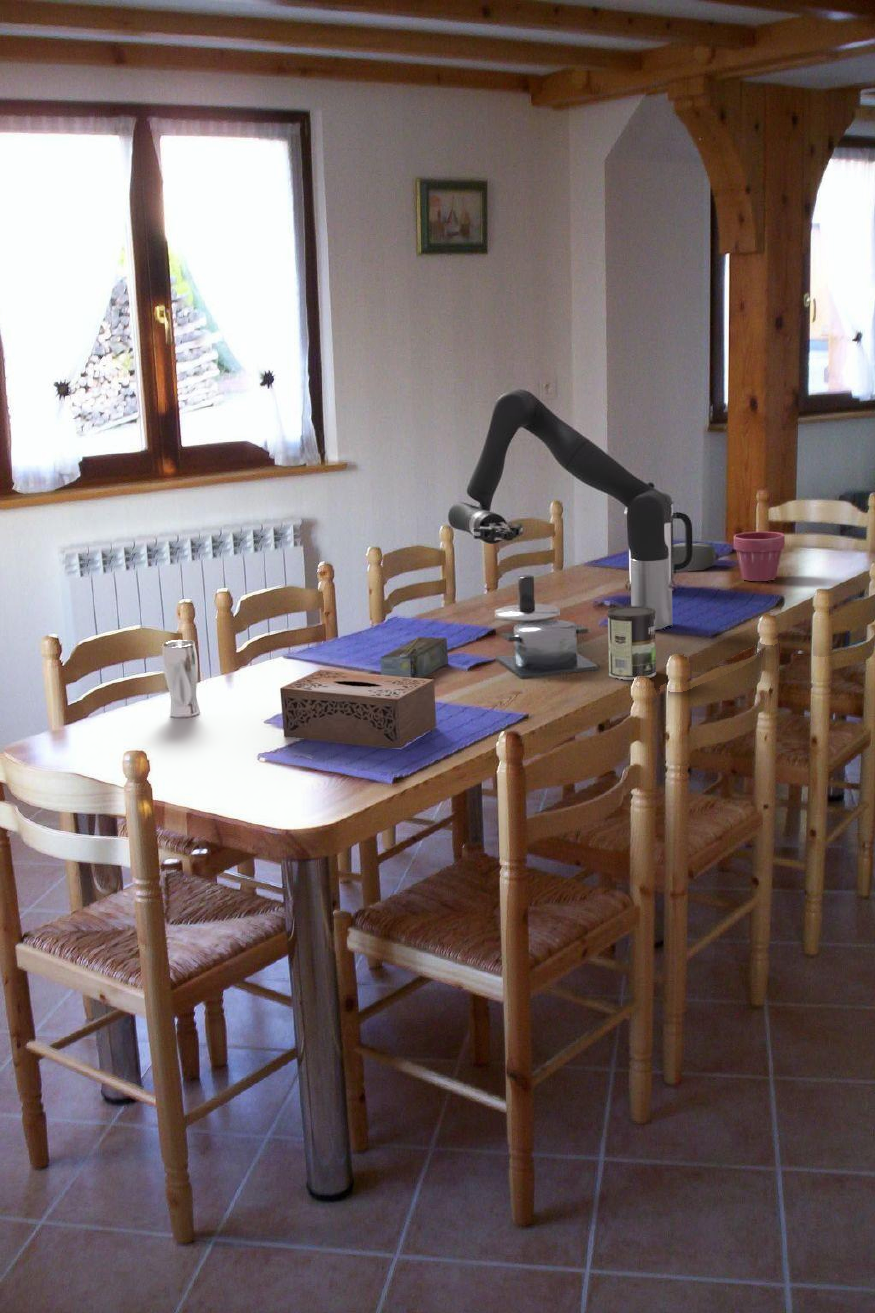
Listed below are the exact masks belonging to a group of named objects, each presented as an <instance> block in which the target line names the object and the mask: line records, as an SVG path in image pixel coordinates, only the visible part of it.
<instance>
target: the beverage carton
mask: <svg viewBox="0 0 875 1313" xmlns="http://www.w3.org/2000/svg"><path fill="white" fill-rule="evenodd" d="M448 656H449V655H448V644H447V638H446V637H432V636H429V637H424V636H418V637H416V638H413V639H411V641H408V642H407V643H405V644H403V645H401V646H400V647H398V648H396V649H394V650H392V651H390V652H389V653H387V654H384V655H382V656H380V670H381V674H380V675H387V676H399V677H410V678H422V679H424V678H425V677H426V676H428V675H430V674H431V673H433V672H435V671H436V670H438V669H440V668H441V667H443V666H445V665H447V664H449V657H448Z"/></svg>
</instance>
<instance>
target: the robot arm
mask: <svg viewBox="0 0 875 1313" xmlns="http://www.w3.org/2000/svg"><path fill="white" fill-rule="evenodd" d="M493 407H494V408H493V411H492V414H491V419H490V421H489V422H490V423H489V427H488V431H487V435H486V438H485V442H484V444H483V448H482V451H481V453H480V456H479V459H478V461H477V464H476V466H475V468H474V470H473V473H472V475H471V477H470V480H469V482H468V485H467V487H466V494H467V495H468V496H469V497H470V499H472V500H474V501H475V502H478V503H479V505H478V506H477V505H473V504H470V503H467V502H463V501H460V502H459V501H458V502H456V503H454V504H453V505H452V506H451V507H450V508H449V511H448V513H447V514H448V515H447V519H448V520H447V521H448V523H449V525H450V526H451V527H452V528H453V529H456V530H459V531H462V532H466V533H469V534H470V535H472V536H473V539H475V540H479V541H482V542H484V543H486V544H490V545H495V544H498V543H500V542H502V541H505V542H509V541H511V542H512V541H513V540H514V539H516V538H518V537H520V536H522V535H523V534H524V533H523V524H522V523H518V524H514V526H513V525H512V524H511V523H509V524H508V522H507V520H506V519H505V518H504V517H503V516H502V515H500V514H498V513H496V512H494V511H491V506H492V502H493V498H494V495H495V494H496V493H495V492H496V491H497V488H498V486H499V483H500V481H501V479H502V477H503V472H504V467H505V461H506V457H507V452H508V449H509V447H510V444H511V442H512V440H513V438H514V437H515V435H516V433H517V432H518V430H519V429H520V428H522V429H525V430H526V431H527V432H529V433H531V434H532V435H534V436H535V437H536V438H538V439H539V440H540V441H542V443H544V445H545V446H546V447H547V448H548V450H549V451H550V453H551V455H552V456H553V458H554V459H555V460H556V462H557V463H558V464H559V465H560V466H561V467H562V469H564V470H565V471H567V472H569V474H571V475H572V476H573V477H575V478H576V480H579V481H580V482H582V483H584V484H586V485H587V486H589V487H591V488H593V489H595V490H597V491H600V492H601V493H602V492H603V493H604V494H606V495H609V496H611V497H613V498H614V499H616V500H617V501H619V502H620V503H621V504H622V505H623V506H624V507H625V508H626V507H627V508H628V509H627V514H626V535H627V536H626V537H627V546H628V550H629V549H630V556H631V583H630V587H631V588H630V604H631V605H630V606H641V607H649V608H652V609H654V610H655V631H656V630H663V628H664V629H666V628H665V627H667V626H668V625H672V626H673V591H672V589H671V588H669V586H670V585H669V559H668V557H669V550H668V546H667V545H666V543H665V535H664V524H665V523H666V522H667V521H668V520H669V519H670V517H671V513H672V507H671V504H670V502H669V500H668V498H667V497H666V496H665V495H664V494H663V493H661V492H660V491H661V490H658V489H656V488H655V487H654V488H653V487H651V486H649V485H648V484H647V483H646V482H645V481H643V480H641V479H640V478H638V477H636V476H635V475H633V473H631V472H629V470H627V469H626V468H625V467H624V466H623V465H621V464H620V463H619V462H618V461H617V460H615V459H614V458H613V457H611V456H610V455H609V454H607V452H605V451H604V450H603V449H602V448H600V447H599V446H598V445H596V444H595V443H594V442H593V441H591V440H590V439H589V438H587V437H585V436H584V435H582V433H580V432H579V431H577V430H576V429H574V428H573V427H572V426H570V425H569V423H566V422H564V420H562V419H561V418H560V417H558V416H557V415H556V414H554V413H553V412H552V410H550V409H549V408H548V406H546V405H545V404H544V403H543V402H542V401H541V400H540V399H538V397H537V396H535V395H534V394H533V393H532V392H530V391H529V390H526V389H515V390H511V391H507V392H505V393H503V394H501V395H500V396H499V397H498V398H497V399H496V402H495V404H494V406H493ZM667 628H668V627H667Z"/></svg>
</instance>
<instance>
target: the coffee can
mask: <svg viewBox="0 0 875 1313" xmlns="http://www.w3.org/2000/svg"><path fill="white" fill-rule="evenodd" d="M606 616H607V634H608V635H607V638H608V676H609V677H611V678H612V679H615V678H618V679H617V680H621V679H623V680H622V681H634V680H633V679H634V678H636V677H637V676H647V677H649V678H648V679H651V678H653V677H655V676H656V675H657V671H656V670H657V668H656V667H657V665H656V664H657V663H656V662H657V660H656V630H655V610H654V609H652V608H649V607H641V606H631V605H630V606H629V605H627V606H619V607H613V608H610V609H608V610H607V611H606Z"/></svg>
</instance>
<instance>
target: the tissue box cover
mask: <svg viewBox="0 0 875 1313" xmlns="http://www.w3.org/2000/svg"><path fill="white" fill-rule="evenodd" d="M279 690H280V692H279V694H280V704H281V716H282V727H283V728H282V729H283V730H282V731H283V737H284V738H293V739H301V740H310V741H311V740H312V741H317V742H328V743H336V742H337V743H338V744H344V745H345V744H347V745H355V746H363V747H373V748H379V747H380V749H388V748H402V747H404V746H405V745H406V744H407V743H409V742H412V741H413V740H414V739H416V738H417V737H419V736H422V735H423V734H424V733H426V732H428V731H431V730H432V729H434V728H435V727H436V728H437V713H436V694H435V691H436V690H435V679H429V678H410V677H399V676H387V675H381V674H375V673H364V672H362V673H361V672H351V671H350V672H349V671H339V670H327V669H318V670H316V671H314V672H311V673H310V674H308V675H305V676H304V677H301V678H298V679H297V680H295V681H293V682H291V683H288V684H286V685H283V686H282V687H280V688H279ZM434 730H435V729H434ZM432 731H433V730H432ZM432 731H431V732H432ZM337 743H336V744H337ZM381 747H382V748H381ZM383 747H384V748H383ZM385 747H386V748H385Z"/></svg>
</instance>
